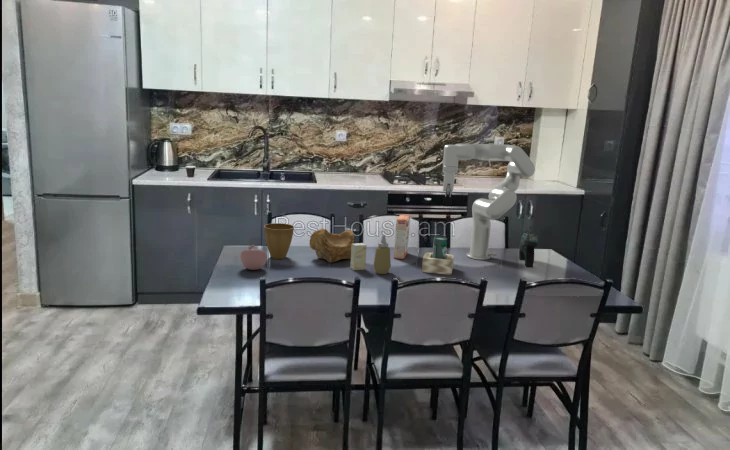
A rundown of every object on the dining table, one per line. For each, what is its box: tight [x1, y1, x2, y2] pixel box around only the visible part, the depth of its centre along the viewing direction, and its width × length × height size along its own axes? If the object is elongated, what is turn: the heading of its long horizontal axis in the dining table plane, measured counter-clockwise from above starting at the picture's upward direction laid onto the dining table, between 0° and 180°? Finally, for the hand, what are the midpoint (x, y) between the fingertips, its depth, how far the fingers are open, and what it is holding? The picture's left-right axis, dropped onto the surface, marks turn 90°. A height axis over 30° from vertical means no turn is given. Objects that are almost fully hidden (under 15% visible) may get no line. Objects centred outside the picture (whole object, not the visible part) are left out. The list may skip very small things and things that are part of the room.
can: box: [432, 236, 448, 259], centre depth 265 cm, size 6×6×15 cm
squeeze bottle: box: [373, 234, 392, 275], centre depth 255 cm, size 8×8×18 cm
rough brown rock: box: [309, 228, 355, 264], centre depth 273 cm, size 23×17×15 cm
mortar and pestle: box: [239, 244, 268, 271], centre depth 251 cm, size 12×12×11 cm
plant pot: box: [263, 222, 295, 260], centre depth 273 cm, size 15×15×16 cm
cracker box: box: [393, 214, 411, 260], centre depth 287 cm, size 14×6×21 cm, turn 168°
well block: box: [421, 251, 455, 276], centre depth 265 cm, size 14×12×7 cm
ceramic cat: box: [518, 226, 539, 268], centre depth 285 cm, size 20×6×20 cm, turn 177°
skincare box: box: [349, 242, 367, 271], centre depth 260 cm, size 6×4×12 cm
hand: (447, 202), depth 280 cm, fingers open, 9 cm apart
